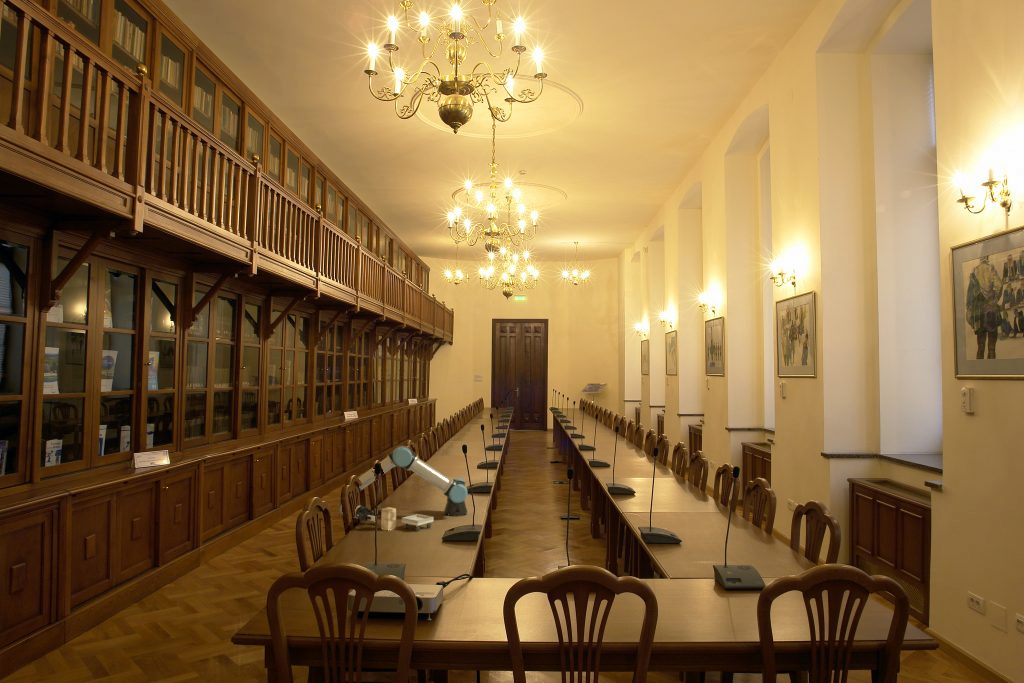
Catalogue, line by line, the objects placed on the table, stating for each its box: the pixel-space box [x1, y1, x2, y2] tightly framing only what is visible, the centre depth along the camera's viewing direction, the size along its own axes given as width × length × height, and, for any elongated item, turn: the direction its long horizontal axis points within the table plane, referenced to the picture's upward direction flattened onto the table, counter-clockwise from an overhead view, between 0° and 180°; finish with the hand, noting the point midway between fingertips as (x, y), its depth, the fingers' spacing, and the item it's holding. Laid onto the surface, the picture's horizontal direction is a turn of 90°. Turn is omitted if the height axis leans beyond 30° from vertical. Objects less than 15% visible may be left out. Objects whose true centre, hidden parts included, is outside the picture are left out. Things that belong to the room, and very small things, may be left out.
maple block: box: [380, 506, 397, 532], centre depth 392 cm, size 6×6×12 cm
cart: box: [401, 513, 434, 532], centre depth 395 cm, size 13×13×6 cm
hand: (384, 516), depth 394 cm, fingers open, 13 cm apart
